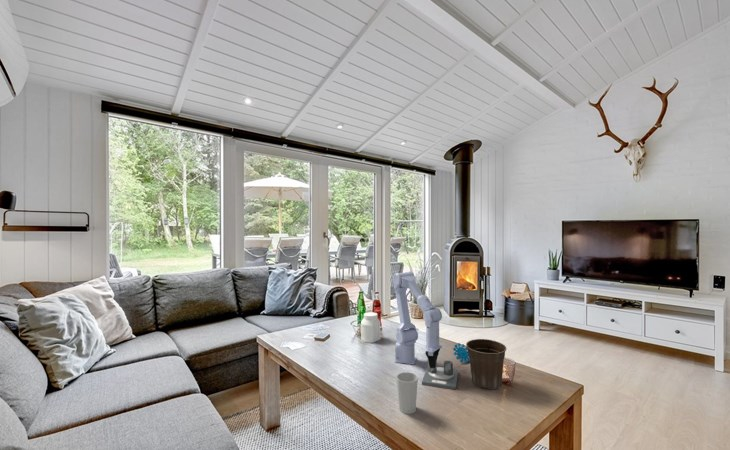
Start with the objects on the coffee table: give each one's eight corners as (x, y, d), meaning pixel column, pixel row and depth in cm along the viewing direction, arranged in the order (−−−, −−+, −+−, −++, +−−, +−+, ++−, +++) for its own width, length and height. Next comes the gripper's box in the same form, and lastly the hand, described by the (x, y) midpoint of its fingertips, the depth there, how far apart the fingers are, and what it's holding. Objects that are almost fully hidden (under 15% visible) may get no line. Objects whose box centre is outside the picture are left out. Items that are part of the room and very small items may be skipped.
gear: (458, 362, 160) (451, 342, 167) (452, 367, 164) (445, 348, 171) (477, 361, 164) (469, 342, 171) (470, 366, 168) (463, 347, 175)
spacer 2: (451, 376, 145) (451, 364, 145) (442, 374, 147) (442, 363, 147) (454, 372, 148) (453, 361, 148) (445, 370, 150) (445, 359, 150)
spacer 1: (435, 373, 147) (435, 362, 147) (426, 371, 149) (426, 360, 149) (438, 369, 151) (437, 358, 151) (429, 368, 153) (429, 357, 153)
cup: (395, 403, 128) (394, 372, 127) (415, 402, 128) (415, 371, 128) (398, 415, 120) (398, 382, 120) (420, 414, 120) (420, 381, 120)
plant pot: (487, 396, 132) (487, 356, 132) (458, 379, 146) (458, 343, 146) (515, 386, 140) (515, 348, 139) (485, 371, 154) (484, 336, 154)
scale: (421, 384, 142) (421, 379, 142) (427, 368, 157) (427, 364, 157) (455, 389, 138) (455, 384, 138) (458, 372, 153) (458, 368, 153)
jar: (370, 344, 190) (369, 317, 190) (358, 340, 196) (357, 314, 196) (383, 338, 198) (383, 313, 198) (371, 334, 205) (371, 310, 205)
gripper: (439, 342, 142) (440, 373, 142) (443, 331, 155) (443, 360, 155) (423, 340, 144) (423, 371, 144) (428, 329, 158) (428, 358, 158)
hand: (433, 365), depth 150 cm, fingers closed on spacer 1, 4 cm apart
